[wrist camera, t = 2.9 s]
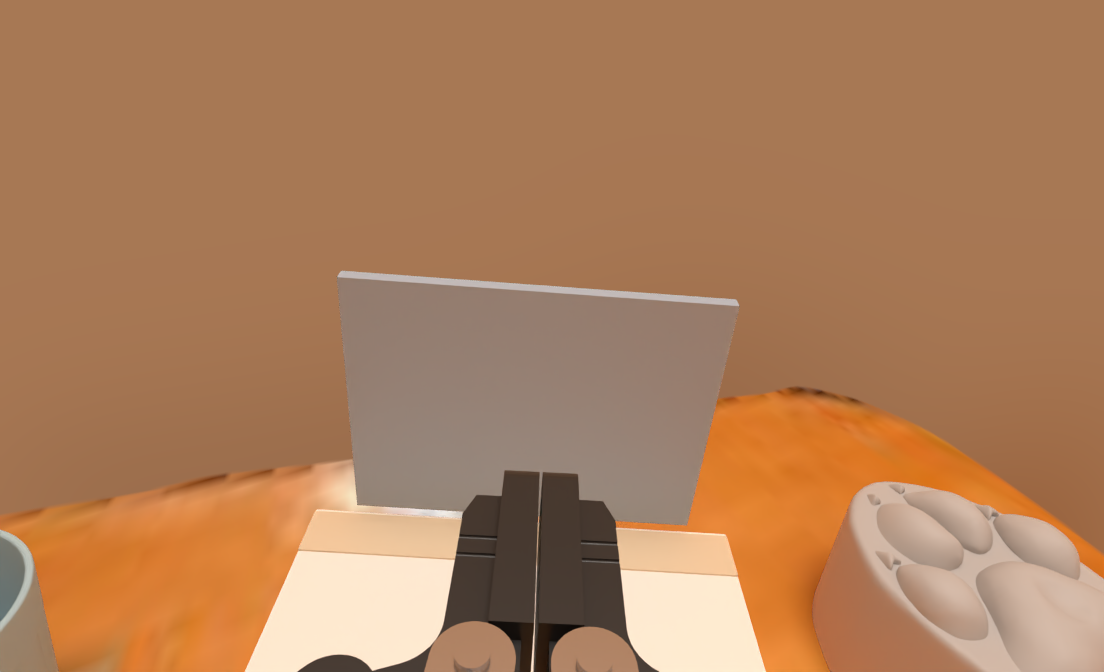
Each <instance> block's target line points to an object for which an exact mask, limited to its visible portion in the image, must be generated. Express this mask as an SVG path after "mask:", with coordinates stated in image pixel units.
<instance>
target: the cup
mask: <svg viewBox="0 0 1104 672" xmlns="http://www.w3.org/2000/svg"><path fill="white" fill-rule="evenodd" d="M0 672H59V670H58V666H57V662H56V657H55V653H54V649H53V645H52V640H51V636H50V632H49V628H48V624H47V619H46V615H45V611H44V606H43V599H42V595H41V590H40V586H39V582H38V577H37V573H36V569H35V564H34V560H33V557H32V554H31V552H30V550H29V549H28V547H27V546H26V545H25V544H24V543H23V542H22V541H21V540H20V539H18V538H17V537H16V536H14V535H12V534H10V533H8V532H5V531H3V530H0Z"/></svg>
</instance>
